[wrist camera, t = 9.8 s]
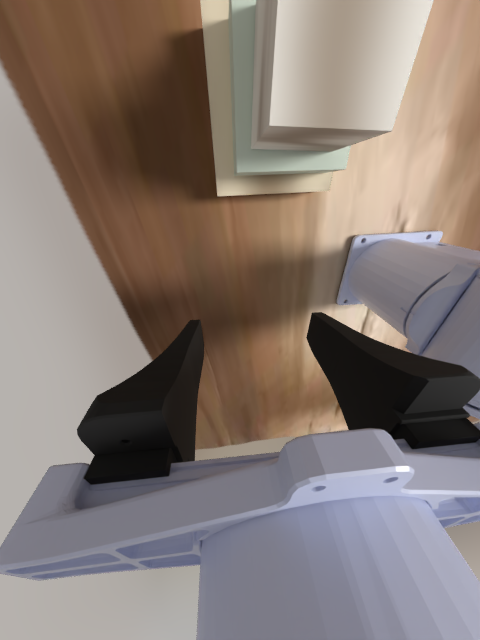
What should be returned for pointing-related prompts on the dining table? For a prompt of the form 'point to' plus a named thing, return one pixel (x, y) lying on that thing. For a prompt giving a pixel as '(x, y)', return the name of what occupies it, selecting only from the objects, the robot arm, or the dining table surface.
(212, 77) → the birch slab
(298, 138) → the ivory cube
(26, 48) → the dining table surface
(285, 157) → the sage block
